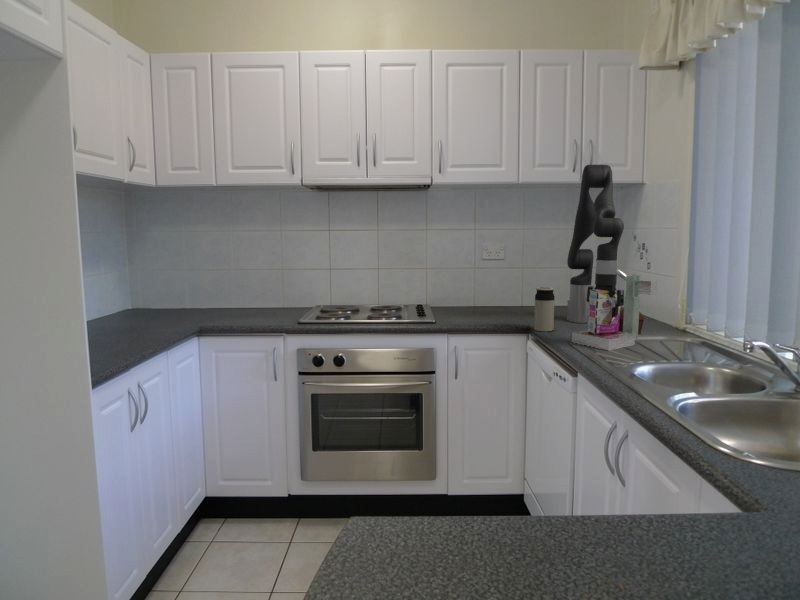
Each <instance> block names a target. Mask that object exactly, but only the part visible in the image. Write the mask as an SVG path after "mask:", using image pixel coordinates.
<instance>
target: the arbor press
mask: <svg viewBox="0 0 800 600" xmlns="http://www.w3.org/2000/svg"><path fill="white" fill-rule="evenodd" d="M626 275H627V277H626V281H625V295H624V305H623V309H624V319H623V332H619V333H608V334H596V335H595V334H591V333H588V332H587V329H584V330H579V331H578V330H577V331H573V332H571V343H572V342H574V343H573V344H575V343H578V344H577V345H580V344H582V345H581V346H584V345H587V346H586V347H589V346H591V347H590V348H594V347H595V348H594V349H598V350H599V349H600V350H604V351H613V350H617V349H622V348H627V347H631V346H634V345H635V344H636V343H635V341H636V340H638V339H639V335H638V325H639V312H640V305H641V302H640V301H641V296H640V294H638V283H639V280H641V275H640V274H639V275H637V274H632V275H629V274H626Z"/></svg>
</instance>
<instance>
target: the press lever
mask: <svg viewBox="0 0 800 600" xmlns="http://www.w3.org/2000/svg"><path fill="white" fill-rule="evenodd" d="M596 262H597V258H596V260H595V263H596ZM627 275H628V274H626V273H625V272H623V270H621V269H619V268H618V267H617V277H618V276H619V277H620V278H621V279H623V281H625V282H626V277H627ZM657 286H658V281H657V280H654V279H653V280H652V279H651V280H650V279H640V280H639V283H638V294H639V295H640V294H641V295H648V296H649V295H650V296H651V295H656V294H657V290H658V289H657Z"/></svg>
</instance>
